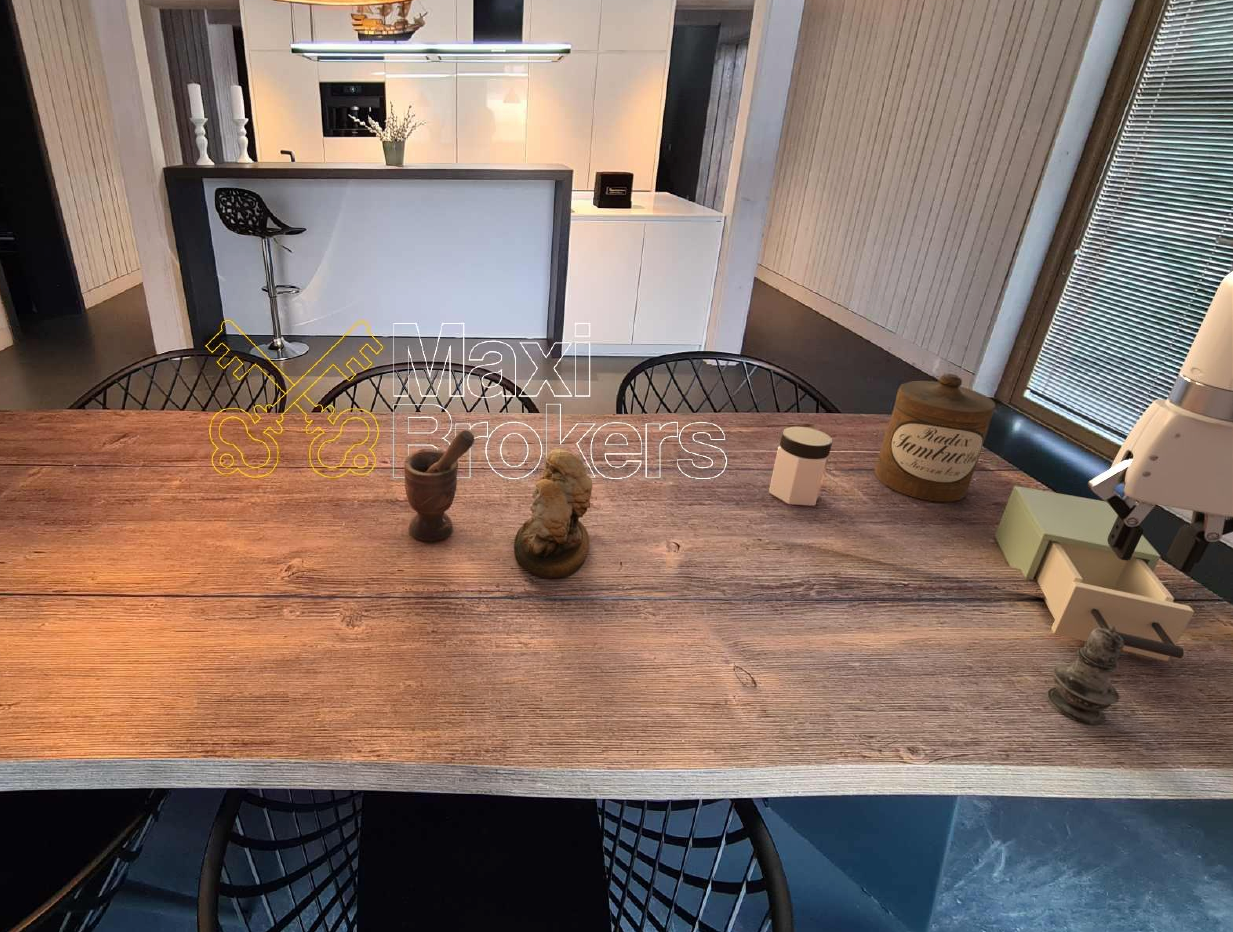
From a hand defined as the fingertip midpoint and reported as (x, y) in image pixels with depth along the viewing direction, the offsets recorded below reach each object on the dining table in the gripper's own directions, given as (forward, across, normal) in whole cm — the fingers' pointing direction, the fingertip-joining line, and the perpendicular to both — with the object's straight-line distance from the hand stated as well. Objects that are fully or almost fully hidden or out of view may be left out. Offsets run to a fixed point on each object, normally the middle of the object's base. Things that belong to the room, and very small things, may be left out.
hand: (1148, 557), depth 70 cm
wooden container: (+22, +8, -54) cm, 59 cm away
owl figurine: (+22, +66, -5) cm, 70 cm away
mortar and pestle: (+22, +84, -1) cm, 87 cm away
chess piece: (+22, 0, 0) cm, 22 cm away
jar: (+22, +30, -39) cm, 54 cm away
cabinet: (+21, -7, -31) cm, 38 cm away
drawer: (+20, -7, -16) cm, 27 cm away
